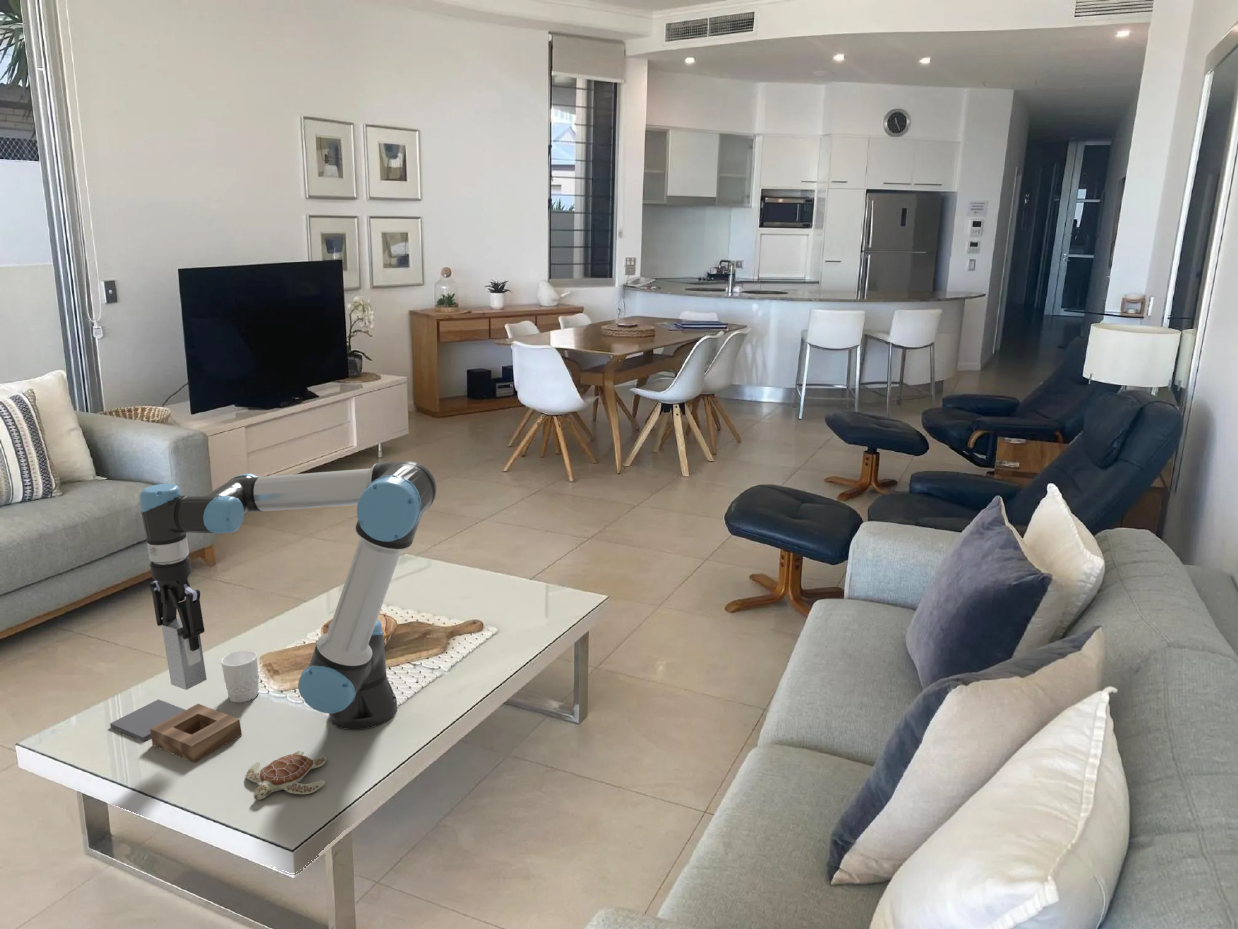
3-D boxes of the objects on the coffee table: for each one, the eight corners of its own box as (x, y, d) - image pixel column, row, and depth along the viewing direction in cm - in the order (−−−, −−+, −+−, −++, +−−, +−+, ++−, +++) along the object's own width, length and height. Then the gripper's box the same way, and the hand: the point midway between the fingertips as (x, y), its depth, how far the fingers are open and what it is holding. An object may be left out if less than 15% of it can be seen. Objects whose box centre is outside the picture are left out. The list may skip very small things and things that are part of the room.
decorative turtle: (221, 794, 186) (217, 773, 184) (280, 751, 200) (278, 730, 199) (292, 817, 179) (289, 794, 177) (348, 770, 193) (346, 748, 192)
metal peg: (206, 679, 201) (197, 620, 197) (186, 690, 197) (176, 629, 193) (191, 674, 204) (182, 615, 200) (171, 684, 199) (161, 624, 196)
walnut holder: (241, 735, 206) (239, 719, 205) (194, 763, 196) (191, 746, 195) (200, 719, 212) (198, 703, 211) (152, 745, 202) (149, 728, 201)
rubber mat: (192, 716, 214) (191, 712, 214) (143, 741, 204) (143, 737, 204) (159, 703, 220) (158, 699, 219) (110, 727, 210) (110, 723, 209)
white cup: (249, 705, 218) (244, 667, 215) (219, 702, 220) (213, 664, 217) (268, 689, 225) (263, 651, 223) (239, 686, 227) (233, 649, 224)
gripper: (125, 557, 194) (143, 658, 200) (181, 572, 185) (197, 677, 191) (158, 545, 200) (174, 644, 206) (213, 559, 191) (228, 662, 198)
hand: (185, 659), depth 199 cm, fingers closed on metal peg, 5 cm apart
